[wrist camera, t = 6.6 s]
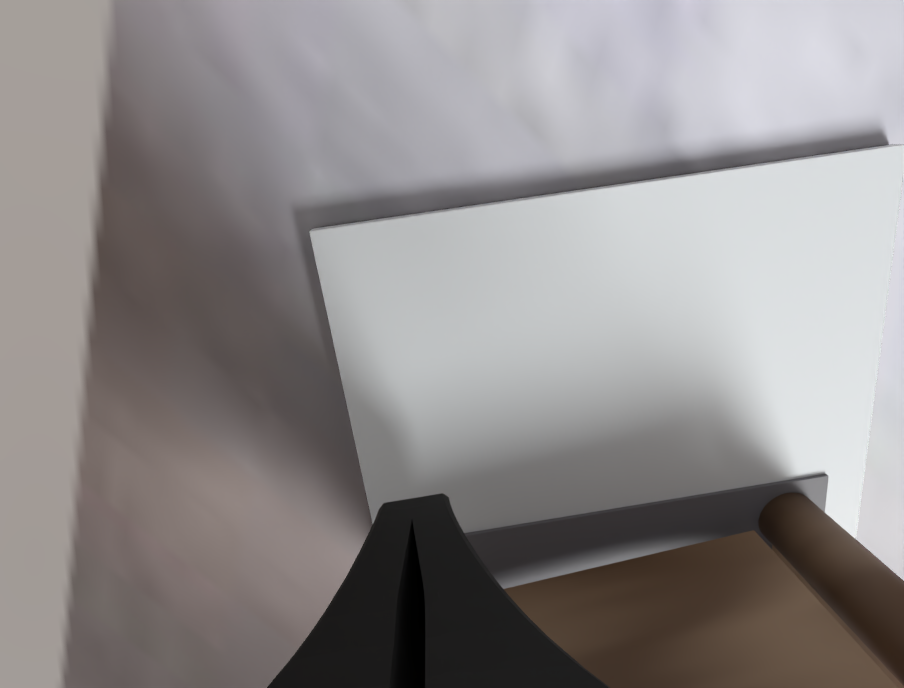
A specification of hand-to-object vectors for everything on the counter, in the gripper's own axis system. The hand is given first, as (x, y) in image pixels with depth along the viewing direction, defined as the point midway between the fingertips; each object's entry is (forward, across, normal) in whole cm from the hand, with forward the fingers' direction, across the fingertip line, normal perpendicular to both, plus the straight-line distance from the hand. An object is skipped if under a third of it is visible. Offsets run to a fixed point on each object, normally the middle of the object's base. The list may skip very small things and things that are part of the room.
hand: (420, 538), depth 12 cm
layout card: (+2, -5, +2) cm, 6 cm away
